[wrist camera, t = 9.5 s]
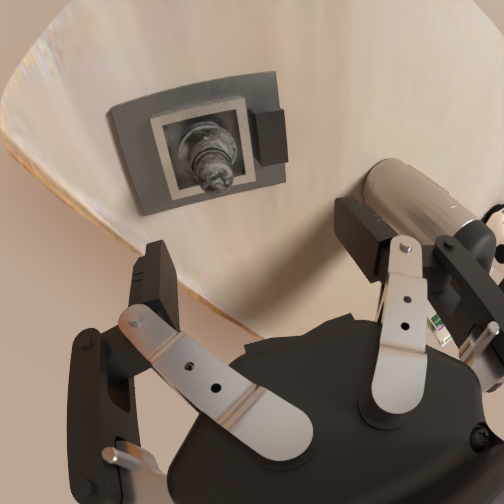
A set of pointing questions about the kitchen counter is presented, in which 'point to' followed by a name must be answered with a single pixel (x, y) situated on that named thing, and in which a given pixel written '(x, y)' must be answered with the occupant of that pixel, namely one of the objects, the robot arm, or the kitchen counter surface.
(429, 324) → the syrup box
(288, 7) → the kitchen counter surface
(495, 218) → the milk container
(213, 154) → the grey chess piece
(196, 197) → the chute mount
